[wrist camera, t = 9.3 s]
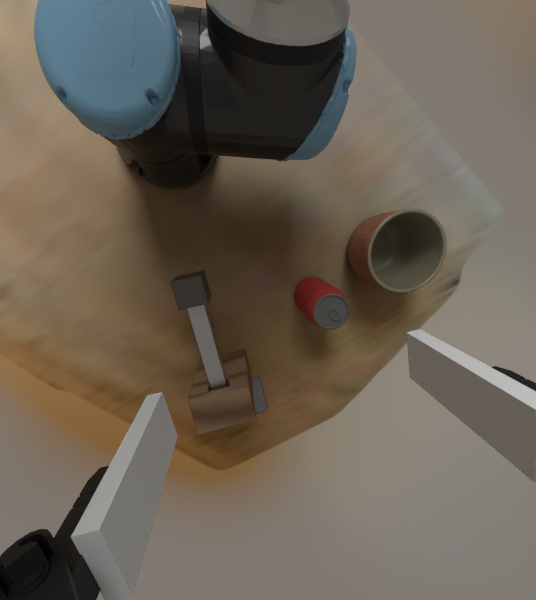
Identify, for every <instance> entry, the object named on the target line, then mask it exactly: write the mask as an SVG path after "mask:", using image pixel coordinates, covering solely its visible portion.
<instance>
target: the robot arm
mask: <svg viewBox="0 0 536 600" xmlns="http://www.w3.org/2000/svg"><path fill="white" fill-rule="evenodd" d="M349 16H350V4H349V2H348V0H206V9H203V8H196V7H188V6H181V5H173V4H168V3H167V1H166V0H39V1H38V4H37V8H36V14H35V23H34V36H35V44H36V51H37V55H38V59H39V62H40V65H41V68H42V71H43V73H44V75H45V77H46V80H47V82H48V83H49V85H50V87H51V88H52V90H53V92H54V93H55V94H56V96H57V97H58V98H59V100H60V101H61V102H62V103H63V104H64V105H65V107H66V108H67V109H68V110H70V111H71V112H72V113H73V114H74V115H75V116H76V117H77V118H78V119H79V120H80V122H81V123H82V124H83V125H84V126H85V127H87V128H88V129H89V130H91V131H94V132H95V133H96V134H100V135H101V136H102V137H104V138H106V139H107V140H108V141H110V142H111V143H113V144H114V145H116V146H117V149H118V151H119V153H120V155H121V156H122V158H123V160H124V161H125V162H126V164H127V165H128V166H129V167H130V168H131V169H132V170H133V171H134V172H135V173H136V174H137V175H138V176H140V177H141V178H143V179H144V180H146V181H148V182H150V183H152V184H154V185H156V186H159V187H162V188H168V189H180V188H185V187H188V186H191V185H193V184H195V183H197V182H198V181H200V180H201V179H202V178H203V177H204V176H205V175H206V174H207V173H208V172H209V170H210V169H211V167H212V165H213V163H214V161H215V158H216V155H219V156H232V157H246V158H259V159H273V160H277V161H287V160H306V159H310V158H313V157H315V156H317V155H318V154H319V153H320V152H321V151H323V149H324V148H325V147H326V146H327V145H328V143H329V142H330V140H331V138H332V137H333V135H334V133H335V131H336V129H337V127H338V125H339V123H340V120H341V118H342V116H343V113H344V110H345V107H346V104H347V101H348V97H349V95H348V88H349V86H350V84H351V82H352V81H353V76H354V70H355V63H356V42H355V38H354V35H353V32H352V31H351V30H350V29H349V28H348V27H347V24H348V20H349ZM407 345H408V357H409V371H410V378H411V379H412V380H414V381H415V382H416V383H417V384H418V385H419V386H421V387H422V388H423V389H424V390H425V391H427V392H428V393H429V394H430V395H431V396H433V397H434V398H435V399H436V400H437V401H438V402H440V403H441V404H442V405H443V406H445V407H446V408H447V409H448V410H449V411H450V412H451V413H453V414H454V415H455V416H456V417H457V418H459V419H460V420H461V421H462V422H463V423H465V424H466V425H467V426H468V427H469V428H470V429H472V430H473V431H474V432H475V433H476V434H478V435H479V436H480V437H481V438H482V439H483V440H485V441H486V442H487V443H488V444H489V445H491V446H492V447H493V448H494V449H495V450H496V451H498V452H499V453H500V454H501V455H502V456H504V457H505V458H506V459H507V460H508V461H509V462H511V463H512V464H513V465H514V466H515V467H517V468H518V469H519V470H520V471H521V472H523V473H524V474H525V475H526V476H527V477H529V478H530V479H531V480H532V481H533V482H536V383H534V382H532V381H530V380H528V379H527V380H526V379H525V378H524V377H522V376H520V375H518V374H516V373H514V372H512V371H510V370H506V369H503V368H499V367H496V366H494V367H489V366H488V365H486V364H484V363H482V362H480V361H478V360H476V359H475V358H473V357H471V356H469V355H467V354H465V353H463V352H461V351H460V350H458V349H456V348H454V347H452V346H450V345H448V344H446V343H445V342H443V341H441V340H439V339H437V338H435V337H434V336H432V335H430V334H428V333H426V332H424V331H422V330H421V329H419V330H415V331H411V332H407ZM177 437H178V436H177V433H176V430H175V427H174V424H173V421H172V419H171V416H170V413H169V410H168V407H167V404H166V401H165V399H164V396H163V393H162V392H160V393H156V394H151V395H147V397H146V398H145V400H144V402H143V404H142V406H141V408H140V410H139V411H138V413H137V415H136V417H135V419H134V421H133V423H132V424H131V426H130V428H129V430H128V432H127V434H126V436H125V438H124V439H123V441H122V443H121V445H120V447H119V449H118V450H117V453H116V454H115V456H114V458H113V460H112V462H111V463H110V465H109V466H106V467H102V468H100V469H98V471H97V472H96V473H95V474H94V475H93V476H92V477H91V478H90V479H89V480H88V481H87V483H86V485H85V486H84V488H83V490H82V492H81V493H80V497H78V498H77V500H76V502H75V503H74V505H73V509H71V510H70V512H69V514H68V515H67V517H66V518H65V520H64V522H63V524H62V525H61V527H60V529H59V530H58V532H57V534H56V536H55V537H54V538H53V537H52V535H51V533H50V532H49V531H48V530H47V529H39V530H36V531H34V532H31V533H29V534H27V535H25V536H24V537H22V538H21V539H19V540H17V541H16V542H15V543H14V544H13V545H11V546H10V547H9V548H8V549H7V550H6V551H5V552H4V553H3V554H2V555H1V556H0V600H96V599H97V596H98V594H99V591H100V592H101V594H102V595H103V597H104V599H105V600H120V599H124V598H127V597H131V596H133V592H134V589H135V585H136V582H137V578H138V575H139V571H140V568H141V564H142V561H143V557H144V553H145V550H146V546H147V543H148V539H149V536H150V532H151V529H152V525H153V522H154V518H155V515H156V511H157V507H158V504H159V501H160V497H161V493H162V490H163V486H164V483H165V479H166V476H167V472H168V469H169V465H170V462H171V458H172V455H173V451H174V448H175V444H176V440H177Z"/></svg>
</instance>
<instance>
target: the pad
mask: <svg viewBox="0 0 536 600" xmlns="http://www.w3.org/2000/svg"><path fill="white" fill-rule="evenodd" d="M252 384H253V393H254V402H255V411H256V413H258V412H262V411H266V410H267V406H266V402H265V397H264V393H263V389H262V385H261V381H260V377H256V378H252Z"/></svg>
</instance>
